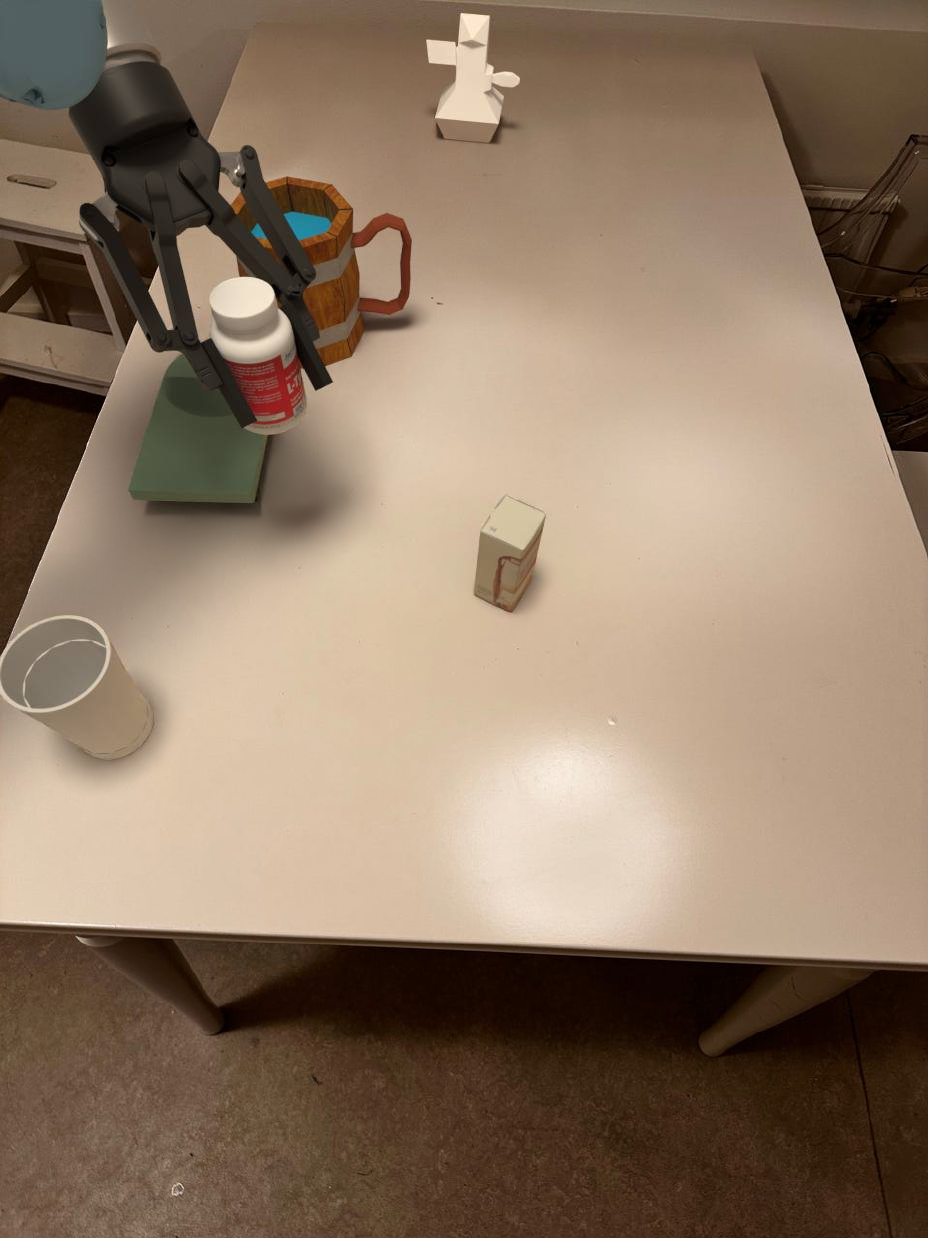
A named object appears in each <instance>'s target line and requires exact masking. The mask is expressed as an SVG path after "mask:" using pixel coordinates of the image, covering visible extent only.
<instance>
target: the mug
mask: <svg viewBox="0 0 928 1238" xmlns="http://www.w3.org/2000/svg"><path fill="white" fill-rule="evenodd" d="M265 183H266V185H267V186H268V188H269V190H270V192H271V193H272V195H273V197H274V199H275V200H276V202H277V204H278V206H279V207H280V209H281V211H282V213H283V214H284V216H285V218H286V220H287V221H288V223H289V225H290V226H291V228H292V230H293V232H294V233H295V235H296V237H297V239H298V240H299V242H300V244H301V246H302V247H303V249H304V251H305V253H306V254H307V256H308V258H309V260H310V261H311V263H312V265H313V267H314V268H315V271H316V277H315V279H314V280H313V281H312V282H311V283H310V284H309V286H308V287H307V288H306V289H305V290H304V292H303V299H304V302H305V304H306V306H307V308H308V310H309V312H310V314H311V316H312V318H313V320H314V322H315V324H316V325H317V327H318V329H319V334H320V338H319V339H317V340H316V341H314V342H313V343H314V345H315V347H316V349H317V351H318V353H319V355H320V357H321V359H322V361H323V363H324V365H325V367H326V366H329V365H332V364H335V363H337V362H340V361H343V360H345V359H348V358H351V357H352V356H353V355H354V353H355V350H356V349H357V346H358V345H359V343H360V340H361V338H362V336H363V334H364V333H365V331H366V326H365V321H364V317H363V313H372V314H373V313H374V314H382V315H388V316H391V315H393V314H396V313H398V312H400V311H402V310H404V307H405V306H406V304H407V302H408V300H409V298H410V294H411V279H412V277H411V276H412V275H411V259H412V258H411V257H412V245H413V239H412V236H411V234H410V231H409V229H408V226H407V224H406V222H405V220H404V218H403V217H401V216H398V215H394V214H392V213H390V212H389V213H388V212H384V213H383V214H380V215H377V216H375V217H373V218H372V219H371V220H370V221H369V222H368V223H367V224H366V225H365V226H364V228H362V229H361V230H360V231H355V232H354V207H352V206H351V204H350V203H349V202H348V201H347V200H346V199H345V197H344V196H343V195H342V194H341V193H340V191H339V190H338V189H337V188H336V186H334V185H333V184H332V183H328V182H327V183H326V182H322V181H315V180H310V179H304V178H300V177H299V178H298V177H293V176H288V175H287V176H283V177H279V178H277V179H273V180H269V181H265ZM230 205H231V207H232V208H233V209H234V212H235V214H236V216H237V217H238V218H239V219H240V220H241V221H242V223H243V224H244V225H245V226H246V227H247V228H248V229H249V230H250V232H251V233H252V234H253V235H254V236H255V237H256V238H257V239H258V240H259V242H260V243H261V244H262V245H263V246H264V247H265V248H266V249H267V251H268V252H269V253H270V254H271V255H272V256H273V257H274V258H275V259H276V261H277V262H278V263H279V264H280V265H281V266H282V267H283V265H282V263H281V262H280V260H279V258H278V257H277V255H276V253H275V251H274V250H273V248H272V246H271V245H270V243H269V241H268V240H267V238H266V236H265V234H264V233H263V231H262V229H261V228H260V226H259V224H258V223H257V221H256V219H255V217H254V216H253V214H252V212H251V211H250V209H249V207H248V206H247V204H246V202H245V200H244V198H243V196H242V193H241V191H240V192H239V193H238V194H237V196H236V197H235V198H234V200H233V201H232V202H231V204H230ZM388 228H390V229H392V230H395V231H398V232H399V234H400V238H401V243H402V244H401V253H400V261H399V272H400V289H399V292H398V295H397V297H396V298H393V299H391V300H389V301H388V300H387V301H386V300H382V299H379V298H373V297H372V298H371V297H361V296H360V278H361V277H360V274H361V273H360V267H359V264H358V258H357V255H356V249H357V248H364V247H365V246H367V245H368V244H370V243H371V241H373V239H374V238H375V237H376V236H377V235H378V233H380V232H382V231H384V230H386V229H388ZM235 258H236V265H237V272H238V277H253V278H256V277H255V275H254V274H253V273H252V272H251V271H250V270H249V269H248V268H247V267H246V266H245V265H244V263H243V262H242V261H241V260H240V259H239V258H238V257H237V256H236V255H235ZM283 268H284V267H283ZM284 269H285V268H284ZM285 271H286V270H285ZM276 301H277V306H278V308H279V309H280V308H281V307H282V306H283V305H282V304H280V303H279V301H278V300H277V299H276ZM362 312H363V313H362ZM299 364H300V369H301V370H304V368H303V366H302V365H301V363H300V361H299Z"/></svg>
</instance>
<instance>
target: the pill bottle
mask: <svg viewBox="0 0 928 1238" xmlns="http://www.w3.org/2000/svg"><path fill="white" fill-rule="evenodd" d="M208 304H209V307H210V311H211V315H212V318H213V321H212V322H211V325H210V328H209V329H210V330H209V338H212V340H213V342H214V344H215V345H216V347H217V349H218V351H219V353H220V354H221V356H222V358H223V360H224V361H225V363H226V365H227V367H228V369H229V370H230V372H231V374H232V376H233V378H234V379H235V381H236V383H237V385H238V387H239V388H240V390H241V392H242V394H243V395H244V397H245V399H246V401H247V403H248V404H249V406H250V408H251V410H252V412H253V413H254V415H255V417H256V419H257V421H256V422H254V423H252V424H250V425H248V426H246V427H244V428H245V429H247V430H249V431H251V432H254V433H257V434H264V435H268V436H269V435H270V436H271V435H277V434H282V433H285V432H288V431H290V430H292V429H293V428H295V427H297V425H298V424H300V422H301V421H302V420H303V419H304V417H305V416H306V413H307V408H308V400H307V394H306V389H305V385H304V380H303V375H302V368H300V364H299V359H298V355H297V350H296V345H295V340H294V334H293V330H292V326H291V323H290V321H289V319H288V317H287V316H286V315H285V314H284V313H283V312H282V311H281V310H280V309H279V308H278V306H277V301H276V297H275V293H274V290H273V289H272V287H271V286H270V285H269V284H268V283H266V282H265V281H263V280H261V279H257V278H253V277H239V276H238V277H232V278H228V279H226V280H224V281H221V282H219V283H218V284H217V285H216V286H214V288H213V289H212V290H211V291H210V293H209V297H208Z"/></svg>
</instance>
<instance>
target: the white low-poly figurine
mask: <svg viewBox="0 0 928 1238" xmlns="http://www.w3.org/2000/svg"><path fill="white" fill-rule="evenodd" d="M490 21H491V15H487V14H486V15H484V14H476V13H475V14H474V13H463V12H461V13H460V17H459V28H458V41H457V46H456V41H447V40H437V39H426V50H427V57H428V63H429V64H437V65H449V66H455V72H456V73H455V80H454V81H452V82H451V83H450V84H449V85H448V86H446V87H445V88H444V89H443V90H442V91H441V94H440V98H439V101H438V106H437V109H436V112H435V116H434V119H435V121H436V124H437V125H438V128H439V130H440V133H441V134H442V136H443V139H445V140H452V141H453V140H454V141H462V142H463V141H464V142H473V143H486V144H490V143H491V141H492V139H493V136H494V134H495V132H496V130H497V128H498V126H499V124H500V119H501V115H502V110H503V109H502V108H503V105H504V98H505V95H503V94H502V93H501V92H500V91H498V89H496V88H495V87H494V86H493V84H494V85H497V86H499V87H503V88H504V87H505V88H515V87H516V86H518V85H520V81H521V80H520V79H521V78H520V77H519V76H518V75H517V74H515V73H514V72H512V71H500V72H495V73H494V71H495V70H494V69H495V68H494V66H493V65H491V64H490V63H488V59H489V58H488V57H489V49H490V48H489V47H490V32H491V31H490V30H491V28H490V27H491V25H490V24H491V23H490Z"/></svg>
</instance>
